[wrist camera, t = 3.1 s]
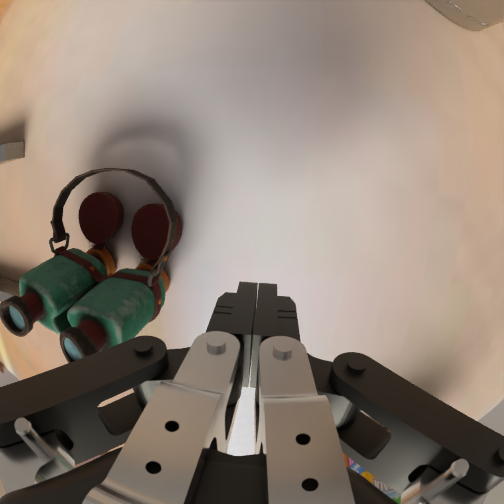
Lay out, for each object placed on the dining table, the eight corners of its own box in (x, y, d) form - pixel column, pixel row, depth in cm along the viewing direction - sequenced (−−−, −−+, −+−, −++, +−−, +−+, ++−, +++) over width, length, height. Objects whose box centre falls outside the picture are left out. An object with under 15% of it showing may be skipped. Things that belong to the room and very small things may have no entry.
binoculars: (118, 180, 7) (116, 412, 10) (201, 179, 17) (177, 313, 20) (-19, 161, 7) (-4, 340, 9) (92, 161, 17) (82, 281, 20)
